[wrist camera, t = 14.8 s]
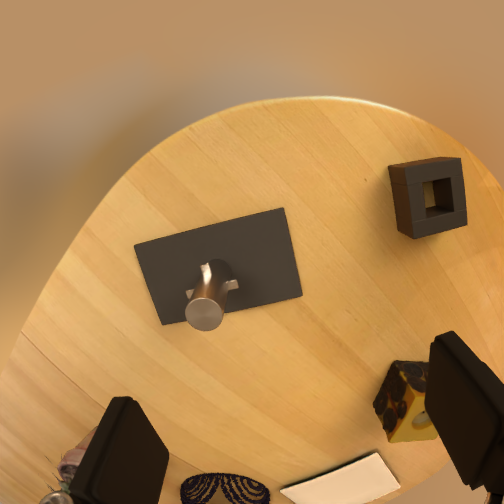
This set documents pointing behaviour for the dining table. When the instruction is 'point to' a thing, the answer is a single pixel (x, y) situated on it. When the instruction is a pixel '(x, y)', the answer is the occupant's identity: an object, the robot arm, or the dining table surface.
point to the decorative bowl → (187, 487)
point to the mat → (229, 250)
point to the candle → (405, 403)
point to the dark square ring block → (412, 196)
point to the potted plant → (72, 463)
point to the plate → (346, 484)
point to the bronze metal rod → (209, 295)
